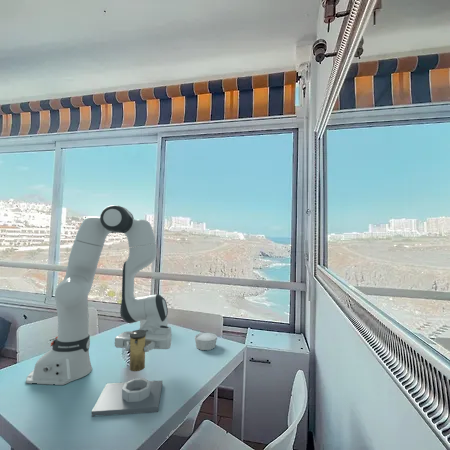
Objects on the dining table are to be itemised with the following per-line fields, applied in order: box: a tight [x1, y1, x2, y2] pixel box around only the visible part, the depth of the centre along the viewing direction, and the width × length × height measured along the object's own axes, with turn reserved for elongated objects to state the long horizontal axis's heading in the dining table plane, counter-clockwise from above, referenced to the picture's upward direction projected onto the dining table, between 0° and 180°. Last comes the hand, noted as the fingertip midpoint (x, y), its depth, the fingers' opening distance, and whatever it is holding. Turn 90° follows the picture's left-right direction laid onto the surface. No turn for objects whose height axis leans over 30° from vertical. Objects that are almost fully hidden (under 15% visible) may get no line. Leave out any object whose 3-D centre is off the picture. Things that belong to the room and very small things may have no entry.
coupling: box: [129, 329, 146, 372], centre depth 96 cm, size 8×5×12 cm
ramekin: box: [194, 332, 218, 351], centre depth 140 cm, size 11×11×5 cm
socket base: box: [91, 377, 163, 417], centre depth 96 cm, size 20×16×4 cm
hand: (136, 349), depth 95 cm, fingers closed on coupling, 5 cm apart
